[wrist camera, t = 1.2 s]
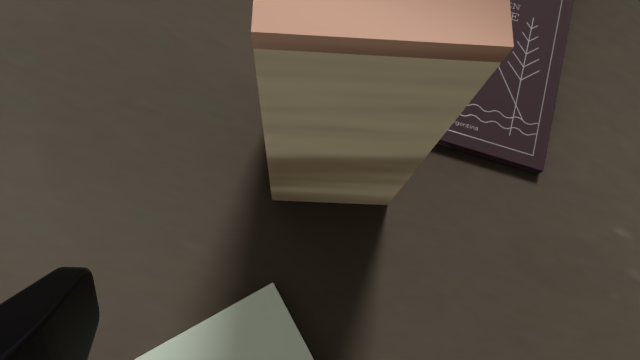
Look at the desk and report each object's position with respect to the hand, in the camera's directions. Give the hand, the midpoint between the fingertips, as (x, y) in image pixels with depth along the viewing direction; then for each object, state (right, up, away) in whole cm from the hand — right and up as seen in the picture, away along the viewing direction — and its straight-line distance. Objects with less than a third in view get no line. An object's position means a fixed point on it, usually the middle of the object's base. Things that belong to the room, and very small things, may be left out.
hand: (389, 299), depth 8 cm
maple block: (-1, +3, +15) cm, 15 cm away
